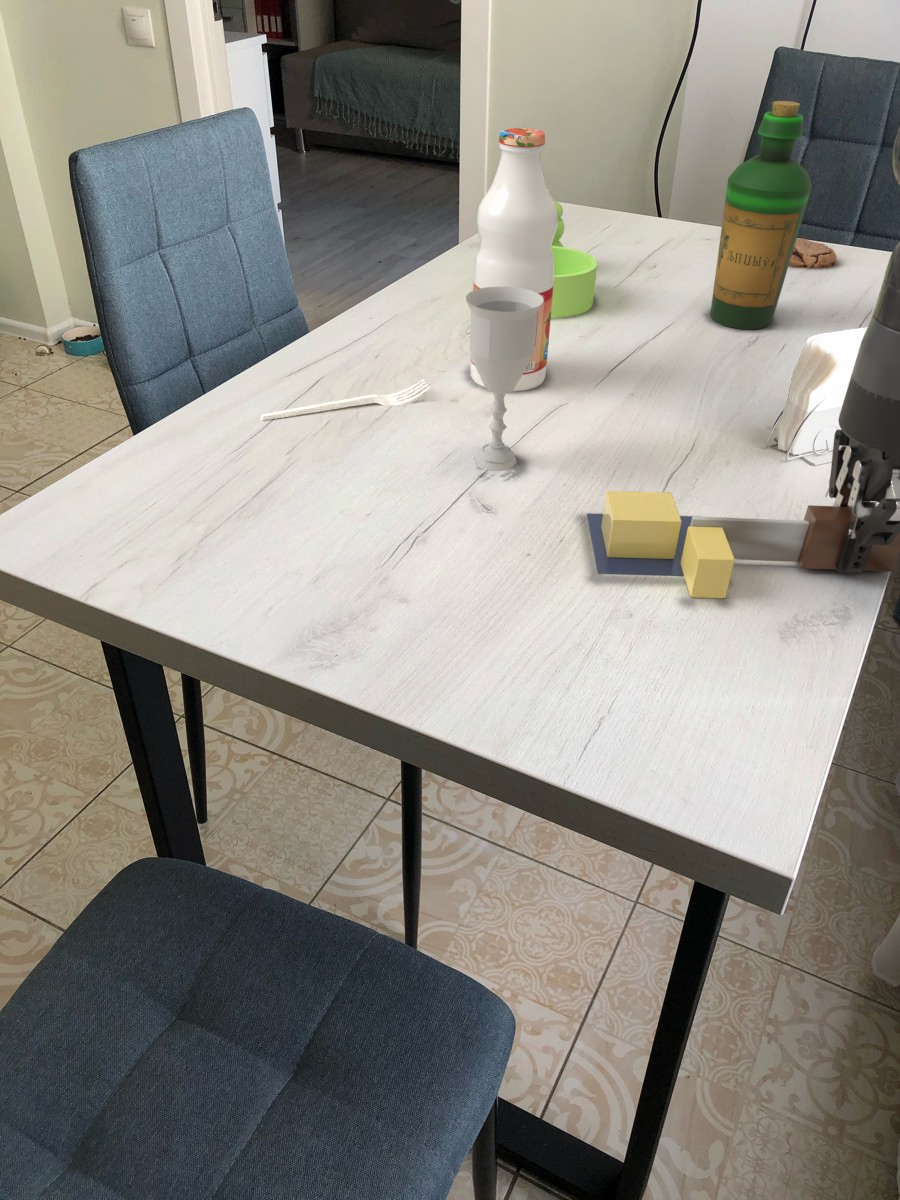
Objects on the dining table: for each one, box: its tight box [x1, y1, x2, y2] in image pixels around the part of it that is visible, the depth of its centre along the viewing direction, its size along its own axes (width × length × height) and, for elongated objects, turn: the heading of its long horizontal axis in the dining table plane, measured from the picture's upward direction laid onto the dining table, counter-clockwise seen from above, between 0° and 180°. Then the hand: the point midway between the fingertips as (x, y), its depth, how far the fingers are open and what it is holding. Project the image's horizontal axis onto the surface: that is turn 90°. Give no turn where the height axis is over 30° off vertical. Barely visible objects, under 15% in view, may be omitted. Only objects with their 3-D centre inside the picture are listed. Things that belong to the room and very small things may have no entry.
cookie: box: [788, 237, 837, 270], centre depth 156 cm, size 10×11×3 cm
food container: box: [547, 188, 598, 319], centre depth 139 cm, size 25×15×13 cm, turn 1°
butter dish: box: [586, 490, 702, 577], centre depth 85 cm, size 11×10×5 cm
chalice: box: [465, 287, 543, 472], centre depth 93 cm, size 7×7×18 cm
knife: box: [690, 504, 900, 573], centre depth 82 cm, size 18×2×5 cm, turn 89°
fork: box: [260, 379, 431, 422], centre depth 108 cm, size 3×20×2 cm, turn 112°
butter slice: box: [681, 526, 736, 599], centre depth 80 cm, size 3×5×4 cm, turn 179°
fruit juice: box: [469, 127, 558, 392], centre depth 108 cm, size 9×9×28 cm
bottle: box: [709, 100, 813, 331], centre depth 126 cm, size 11×11×28 cm
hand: (842, 561), depth 83 cm, fingers closed on knife, 2 cm apart
